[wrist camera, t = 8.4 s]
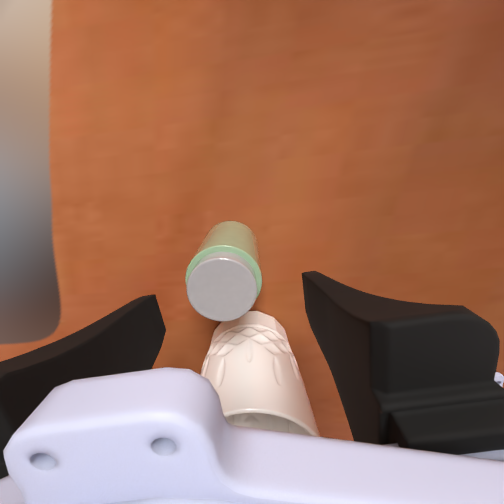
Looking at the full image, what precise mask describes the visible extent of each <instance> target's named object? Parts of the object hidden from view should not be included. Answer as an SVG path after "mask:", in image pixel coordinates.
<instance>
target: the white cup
mask: <svg viewBox="0 0 504 504" xmlns="http://www.w3.org/2000/svg"><path fill="white" fill-rule="evenodd" d="M200 375H201V376H203V377H205V378H207V379H209V381H210V382H211V384H212V385H213V387H214V389H215V390H216V392H217V393H218V395H219V398H220V402H221V406H222V410H223V414H224V416H225V418H226V420H227V422H228V423H230V424H232V425H236V426H244V427H251V428H259V429H266V430H274V431H281V432H289V433H296V434H304V435H311V436H319V437H320V434H319V431H318V428H317V424H316V421H315V418H314V415H313V412H312V408H311V405H310V402H309V399H308V396H307V392H306V389H305V386H304V382H303V380H302V377H301V374H300V372H299V368H298V365H297V362H296V360H295V357H294V354H293V353H292V351H291V348H290V346H289V343H288V339H287V336H286V332H285V329H284V328H283V327H282V326H281V325H280V324H279V323H278V321H277V320H276V319H275V318H274V317H272V316H269V315H267V314H264V313H262V312H259V311H248V312H247V313H246V314H244V315H243V316H241V317H239V318H237V319H234V320H230V321H222V322H221V323H220V325H219V326H218V327H217V328H216V329H215V331H214V333H213V337H212V341H211V345H210V348H209V351H208V353H207V355H206V357H205V360H204V363H203V366H202V369H201V373H200Z"/></svg>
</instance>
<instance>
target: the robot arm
mask: <svg viewBox="0 0 504 504" xmlns="http://www.w3.org/2000/svg"><path fill="white" fill-rule="evenodd" d="M302 280H303V289H304V299H305V309H306V313H307V316H308V320H309V323H310V326H311V329H312V331H313V333H314V335H315V337H316V339H317V342H318V344H319V346H320V348H321V350H322V352H323V354H324V356H325V359H326V361H327V363H328V365H329V367H330V370H331V372H332V375H333V378H334V381H335V383H336V386H337V389H338V392H339V395H340V398H341V401H342V404H343V407H344V410H345V413H346V416H347V419H348V422H349V426H350V429H351V432H352V435H353V438H354V441H349V440H341V439H334V438H326V437H319V436H311V435H304V434H296V433H289V432H281V431H274V430H266V429H259V428H251V427H244V426H236V425H232V424H230V423H228V422H227V420H226V418H225V416H224V414H223V410H222V406H221V402H220V398H219V395H218V393H217V392H216V390H215V389H214V387H213V385H212V384H211V382H210V381H209V379H207V378H205V377H203V376H201V375H199V374H198V373H196V372H194V371H192V370H190V369H181V368H168V367H166V368H158V369H151V368H152V366H153V364H154V362H155V360H156V358H157V355H158V353H159V351H160V349H161V346H162V343H163V339H164V335H165V332H166V328H165V325H164V322H163V319H162V315H161V312H160V309H159V306H158V302H157V299H156V296H155V295H148V296H142V297H140V298H137V299H135V300H133V301H131V302H130V303H128V304H126V305H124V306H123V307H121V308H119V309H117V310H116V311H114V312H112V313H110V314H109V315H107V316H105V317H103V318H102V319H100V320H98V321H96V322H94V323H93V324H91V325H89V326H87V327H85V328H83V329H81V330H79V331H77V332H75V333H73V334H71V335H69V336H67V337H65V338H62V339H60V340H58V341H56V342H53V343H51V344H48V345H46V346H43V347H41V348H38V349H36V350H33V351H31V352H28V353H25V354H22V355H20V356H17V357H14V358H11V359H8V360H5V361H2V362H0V504H504V388H502V386H503V381H504V376H503V375H502V374H501V373H499V372H496V367H497V362H498V356H499V338H498V335H497V332H496V330H495V329H494V328H493V327H492V326H491V325H490V323H489V322H487V321H485V320H484V319H482V318H481V317H479V316H478V315H476V314H475V313H473V312H472V311H470V310H469V309H467V308H466V307H464V306H458V305H435V304H422V303H413V302H406V301H399V300H394V299H389V298H384V297H380V296H375V295H372V294H369V293H365V292H362V291H359V290H356V289H354V288H351V287H349V286H346V285H344V284H341V283H339V282H337V281H335V280H333V279H331V278H329V277H327V276H325V275H323V274H321V273H319V272H316V271H311V272H304V273H302Z"/></svg>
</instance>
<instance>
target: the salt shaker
mask: <svg viewBox="0 0 504 504" xmlns="http://www.w3.org/2000/svg"><path fill="white" fill-rule="evenodd" d="M185 279H186V288H187V296H188V299H189V301H190V303H191V305H192V306H193V308H194V309H195V310H196V311H197V312H198V313H199V314H201V315H202V316H204V317H206V318H208V319H211V320H215V321H230V320H234V319H237V318H239V317H241V316H243V315H244V314H246V313H247V312H248V311H249V310H250V309H251V307H252V306H253V304H254V302H255V300H256V299H257V297H258V295H259V293H260V290H261V286H262V275H261V267H260V259H259V251H258V243H257V239H256V237H255V235H254V233H253V232H252V231H251V230H250V228H248V227H247V226H246V225H244V224H242V223H239V222H235V221H225V222H221V223H219V224H217V225H215V226H214V227H213V228H212V229H211V230H210V231H209V232H208V234H207V235H206V237H205V239H204V240H203V242H202V244H201V245H200V247H199V249H198V250H197V252H196V254H195V255H194V257H193V259H192V260H191V262H190V264H189V266H188V268H187V271H186V278H185Z"/></svg>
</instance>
